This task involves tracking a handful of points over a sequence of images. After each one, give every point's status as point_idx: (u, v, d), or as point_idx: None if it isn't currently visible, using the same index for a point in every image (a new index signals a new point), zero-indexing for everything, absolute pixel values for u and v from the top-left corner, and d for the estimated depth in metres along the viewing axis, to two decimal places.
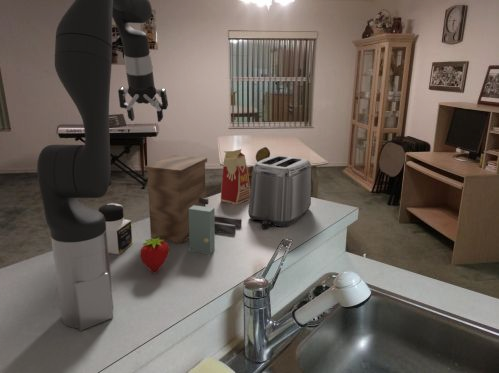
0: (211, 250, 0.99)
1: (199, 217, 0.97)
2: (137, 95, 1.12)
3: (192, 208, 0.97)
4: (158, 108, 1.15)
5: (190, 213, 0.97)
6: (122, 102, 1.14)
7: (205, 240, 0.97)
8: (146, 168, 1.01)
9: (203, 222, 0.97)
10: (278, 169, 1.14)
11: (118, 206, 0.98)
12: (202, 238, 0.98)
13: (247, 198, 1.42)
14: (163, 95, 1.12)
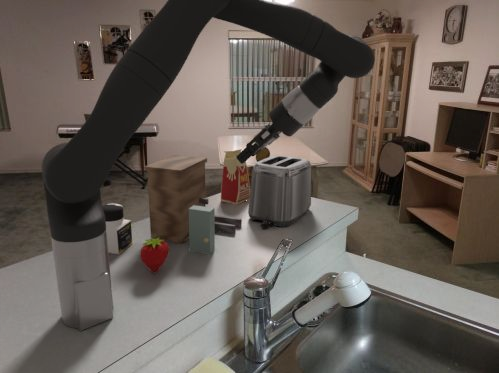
0: (211, 250, 0.99)
1: (199, 217, 0.97)
2: (267, 125, 0.88)
3: (192, 208, 0.97)
4: None
5: (190, 213, 0.97)
6: None
7: (205, 240, 0.97)
8: (146, 168, 1.01)
9: (203, 222, 0.97)
10: (278, 169, 1.14)
11: (118, 206, 0.98)
12: (202, 238, 0.98)
13: (247, 198, 1.42)
14: (260, 132, 0.81)
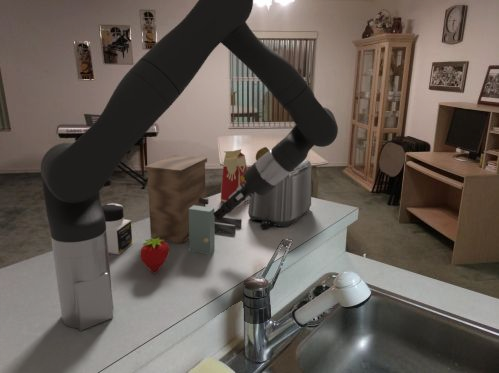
0: (211, 250, 0.99)
1: (199, 217, 0.97)
2: (243, 183, 0.93)
3: (192, 208, 0.97)
4: (225, 202, 0.90)
5: (190, 213, 0.97)
6: None
7: (205, 240, 0.97)
8: (146, 168, 1.01)
9: (203, 222, 0.97)
10: None
11: (118, 206, 0.98)
12: (202, 238, 0.98)
13: None
14: (234, 193, 0.86)
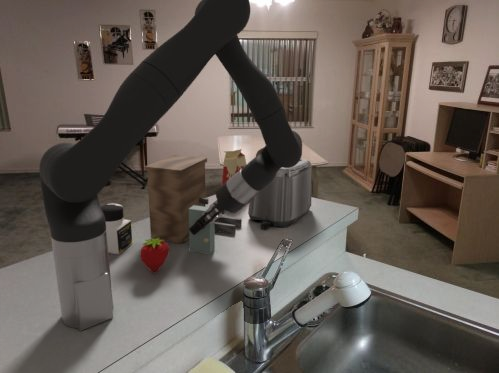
0: (211, 250, 0.99)
1: (199, 217, 0.97)
2: (216, 200, 0.97)
3: (192, 208, 0.97)
4: None
5: (190, 213, 0.97)
6: None
7: (205, 240, 0.97)
8: (146, 168, 1.01)
9: None
10: None
11: (118, 206, 0.98)
12: (202, 238, 0.98)
13: None
14: (203, 214, 0.91)
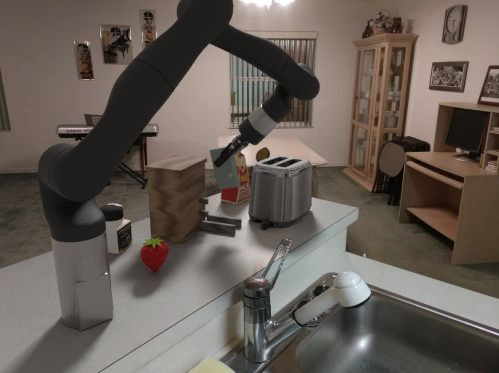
0: (237, 183, 1.10)
1: None
2: (238, 136, 1.08)
3: (212, 149, 1.09)
4: None
5: (211, 153, 1.09)
6: None
7: (229, 174, 1.08)
8: (146, 168, 1.01)
9: None
10: (278, 169, 1.13)
11: (118, 206, 0.98)
12: (227, 174, 1.09)
13: (247, 198, 1.42)
14: (227, 145, 1.02)
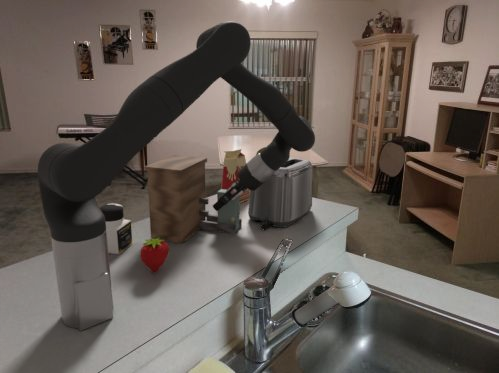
0: (237, 228, 1.14)
1: (227, 199, 1.12)
2: (237, 180, 1.12)
3: (220, 191, 1.12)
4: (222, 196, 1.09)
5: (218, 195, 1.12)
6: None
7: (232, 219, 1.12)
8: (146, 168, 1.01)
9: (230, 203, 1.12)
10: (278, 170, 1.13)
11: (118, 206, 0.98)
12: (229, 217, 1.13)
13: (247, 198, 1.42)
14: (229, 189, 1.05)
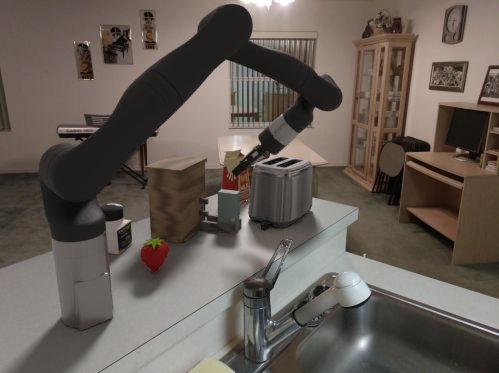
0: (237, 228, 1.14)
1: (227, 199, 1.12)
2: (257, 145, 1.07)
3: (221, 191, 1.12)
4: None
5: (219, 195, 1.12)
6: None
7: (232, 219, 1.12)
8: (146, 168, 1.01)
9: (230, 203, 1.12)
10: (278, 170, 1.13)
11: (118, 206, 0.98)
12: (229, 217, 1.13)
13: (247, 198, 1.42)
14: (250, 152, 1.00)
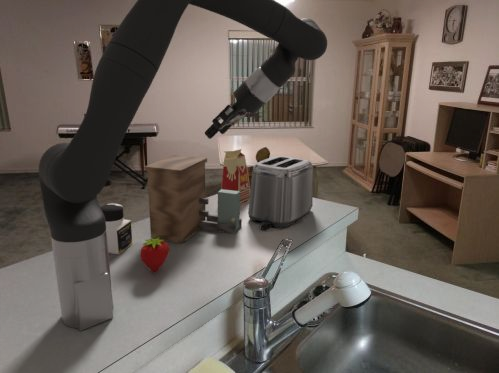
0: (237, 228, 1.14)
1: (227, 199, 1.12)
2: None
3: (221, 191, 1.12)
4: None
5: (219, 195, 1.12)
6: None
7: (232, 219, 1.12)
8: (146, 168, 1.01)
9: (230, 203, 1.12)
10: (277, 170, 1.13)
11: (118, 206, 0.98)
12: (229, 217, 1.13)
13: (247, 198, 1.42)
14: None
